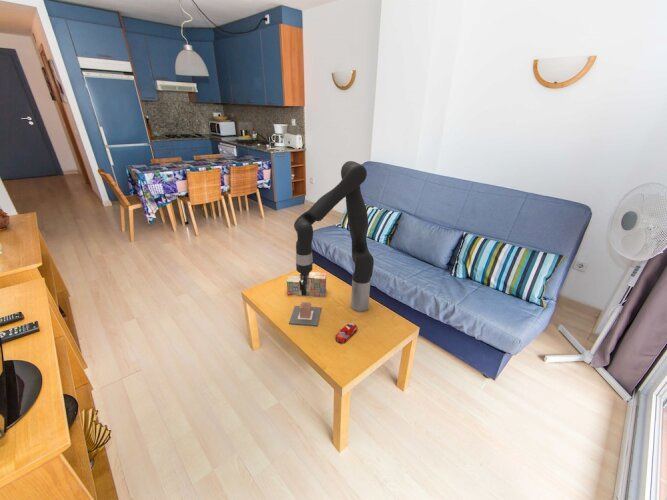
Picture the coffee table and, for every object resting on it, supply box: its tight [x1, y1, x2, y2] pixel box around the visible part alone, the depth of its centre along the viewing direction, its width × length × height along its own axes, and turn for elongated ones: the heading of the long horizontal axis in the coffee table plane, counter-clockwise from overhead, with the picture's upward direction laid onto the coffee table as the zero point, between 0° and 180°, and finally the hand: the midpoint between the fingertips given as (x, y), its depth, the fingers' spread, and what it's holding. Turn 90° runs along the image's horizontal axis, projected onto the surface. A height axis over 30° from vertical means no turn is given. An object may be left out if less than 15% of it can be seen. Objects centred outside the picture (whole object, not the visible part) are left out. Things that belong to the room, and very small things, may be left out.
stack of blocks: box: [286, 271, 327, 298], centre depth 166 cm, size 21×6×12 cm, turn 87°
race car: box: [334, 322, 358, 344], centre depth 139 cm, size 13×5×4 cm, turn 140°
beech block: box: [298, 280, 311, 297], centre depth 143 cm, size 5×5×6 cm
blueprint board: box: [288, 305, 322, 327], centre depth 151 cm, size 14×14×1 cm
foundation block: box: [299, 301, 312, 318], centre depth 149 cm, size 5×5×6 cm
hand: (305, 291), depth 144 cm, fingers closed on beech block, 5 cm apart
